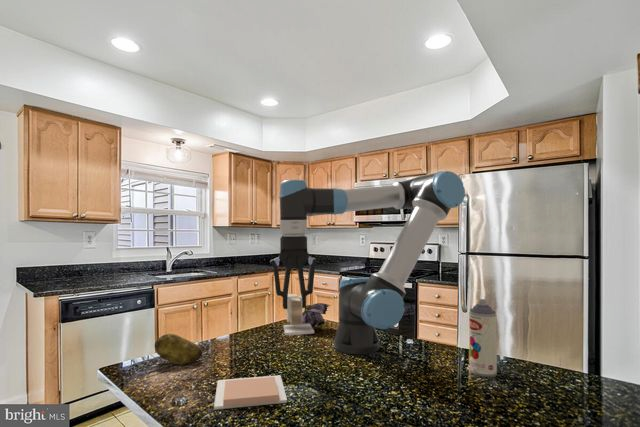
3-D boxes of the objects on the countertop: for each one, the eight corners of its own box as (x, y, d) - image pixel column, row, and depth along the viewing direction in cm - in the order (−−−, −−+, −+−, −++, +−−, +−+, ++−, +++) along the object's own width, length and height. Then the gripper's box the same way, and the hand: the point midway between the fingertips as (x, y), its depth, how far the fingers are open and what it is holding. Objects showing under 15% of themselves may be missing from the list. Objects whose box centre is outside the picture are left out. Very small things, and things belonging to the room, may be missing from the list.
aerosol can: (464, 368, 103) (464, 297, 103) (486, 366, 104) (485, 297, 105) (479, 378, 96) (478, 302, 97) (502, 376, 97) (501, 301, 98)
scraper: (280, 316, 106) (279, 294, 106) (303, 315, 107) (303, 293, 107) (285, 335, 87) (285, 308, 87) (314, 333, 89) (313, 306, 89)
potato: (188, 370, 100) (189, 340, 100) (149, 365, 103) (149, 337, 103) (205, 359, 108) (205, 332, 108) (168, 355, 111) (168, 329, 111)
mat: (280, 377, 95) (280, 375, 95) (287, 402, 82) (287, 399, 82) (217, 382, 92) (217, 380, 92) (213, 409, 78) (213, 406, 78)
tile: (274, 376, 90) (278, 394, 81) (274, 383, 90) (278, 401, 81) (225, 380, 88) (223, 399, 78) (225, 387, 88) (223, 407, 78)
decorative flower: (300, 300, 149) (331, 292, 143) (310, 325, 150) (342, 319, 144) (285, 317, 136) (319, 310, 130) (296, 345, 137) (331, 339, 131)
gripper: (265, 236, 95) (266, 325, 95) (323, 235, 98) (324, 322, 98) (264, 235, 103) (265, 318, 102) (318, 234, 106) (319, 315, 105)
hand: (294, 320), depth 100 cm, fingers closed on scraper, 3 cm apart
